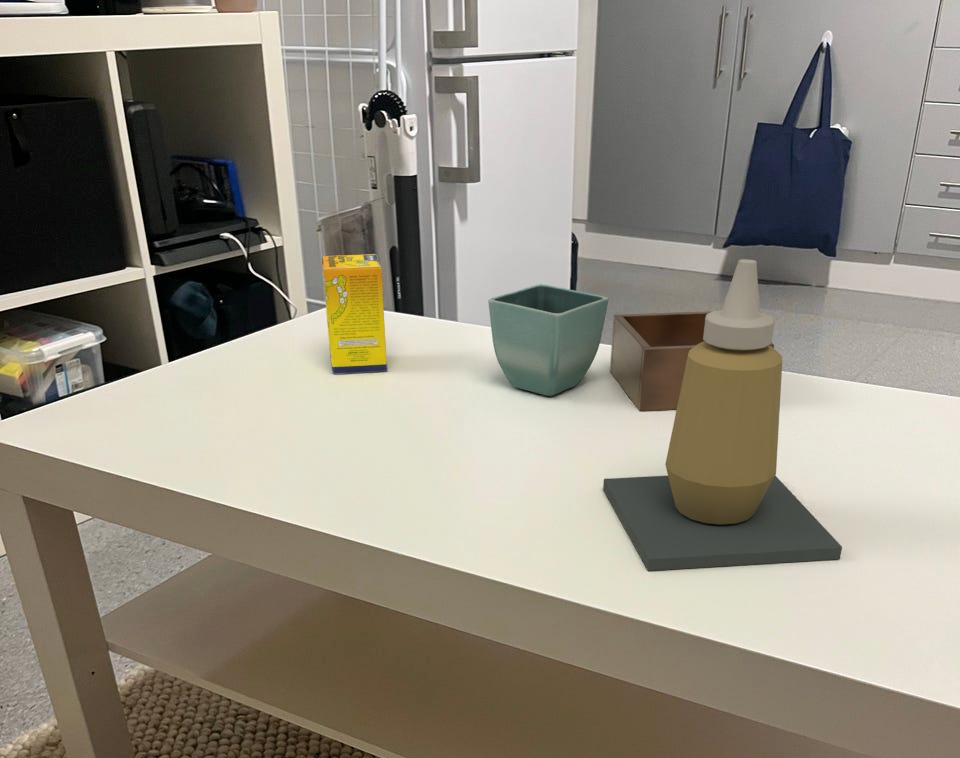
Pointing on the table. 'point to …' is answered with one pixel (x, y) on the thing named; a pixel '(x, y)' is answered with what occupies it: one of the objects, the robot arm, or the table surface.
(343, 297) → the supplement box
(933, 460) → the table surface
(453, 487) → the table surface
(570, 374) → the flower pot
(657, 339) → the box
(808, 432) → the table surface
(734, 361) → the squeeze bottle
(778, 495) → the mat
